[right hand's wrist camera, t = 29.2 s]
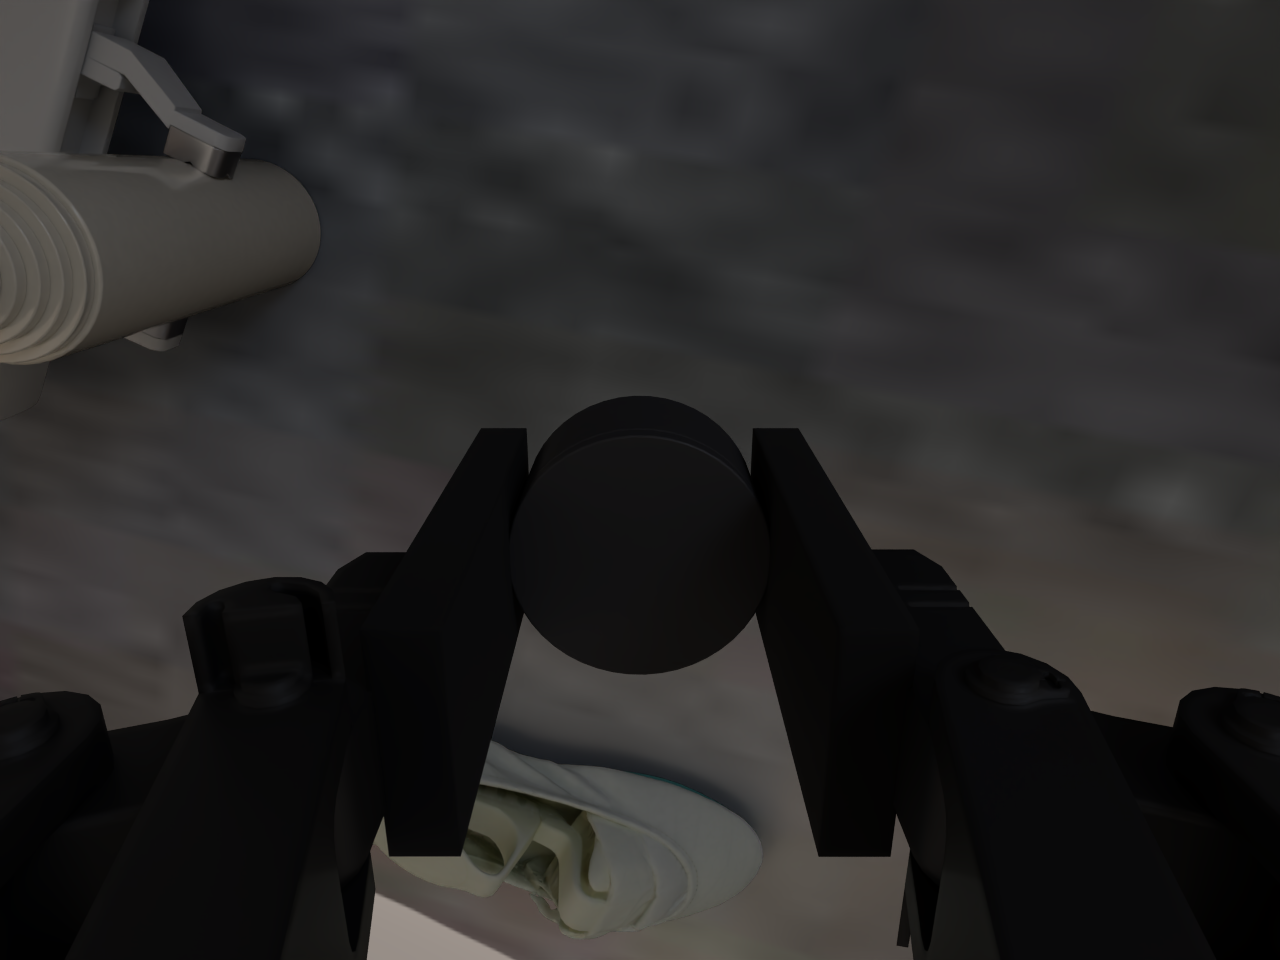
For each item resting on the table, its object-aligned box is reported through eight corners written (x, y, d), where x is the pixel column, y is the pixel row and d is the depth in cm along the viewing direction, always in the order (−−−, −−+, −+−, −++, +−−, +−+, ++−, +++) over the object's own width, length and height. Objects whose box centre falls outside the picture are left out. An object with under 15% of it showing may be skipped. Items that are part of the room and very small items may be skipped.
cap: (489, 548, 15) (464, 611, 13) (588, 353, 13) (578, 387, 11) (685, 638, 15) (692, 712, 13) (795, 459, 14) (822, 509, 12)
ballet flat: (715, 914, 49) (728, 1047, 41) (303, 771, 45) (237, 888, 38) (782, 806, 46) (809, 928, 39) (350, 646, 43) (289, 746, 35)
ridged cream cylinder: (288, 141, 35) (-134, 103, 16) (341, 266, 36) (19, 368, 18) (173, 182, 35) (-366, 194, 16) (231, 304, 37) (-196, 442, 18)
